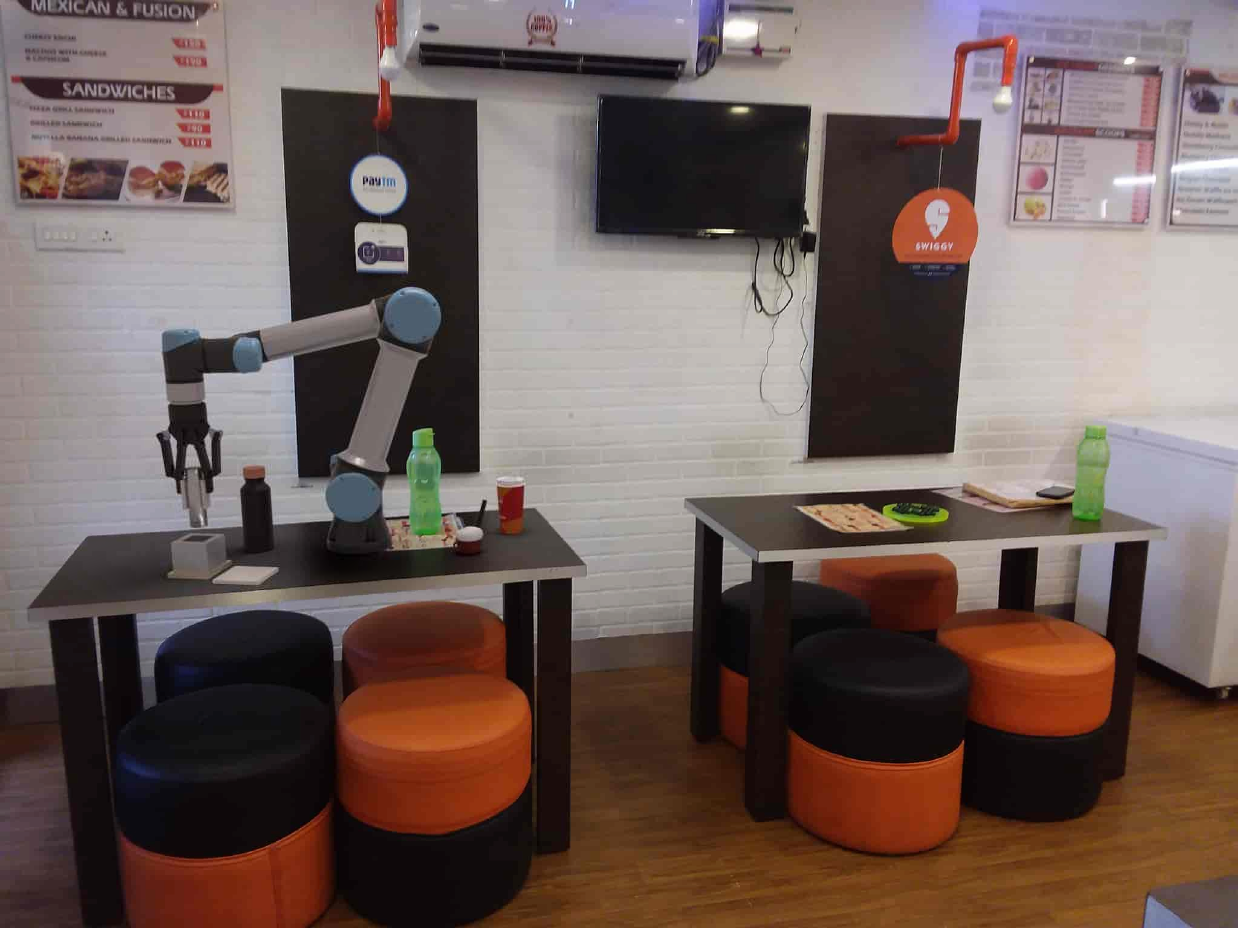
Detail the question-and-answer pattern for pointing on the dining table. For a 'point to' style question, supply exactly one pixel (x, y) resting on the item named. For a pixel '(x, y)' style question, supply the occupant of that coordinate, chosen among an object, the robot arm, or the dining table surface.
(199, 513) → the metal cylinder
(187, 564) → the grey box
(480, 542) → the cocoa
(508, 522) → the paper cup
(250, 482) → the bottle
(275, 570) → the pad
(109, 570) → the dining table surface
